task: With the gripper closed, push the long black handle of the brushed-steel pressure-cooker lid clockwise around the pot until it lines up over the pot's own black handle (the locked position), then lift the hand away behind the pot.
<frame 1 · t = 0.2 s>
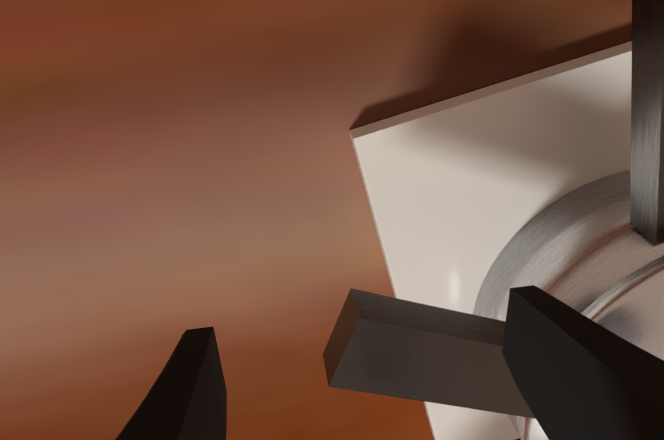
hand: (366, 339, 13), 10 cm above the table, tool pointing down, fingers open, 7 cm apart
pot: (611, 301, 25), resting on board
lid: (636, 394, 19), point 8 cm above the table, hinge at 55.0°
board: (598, 257, 25), on the table
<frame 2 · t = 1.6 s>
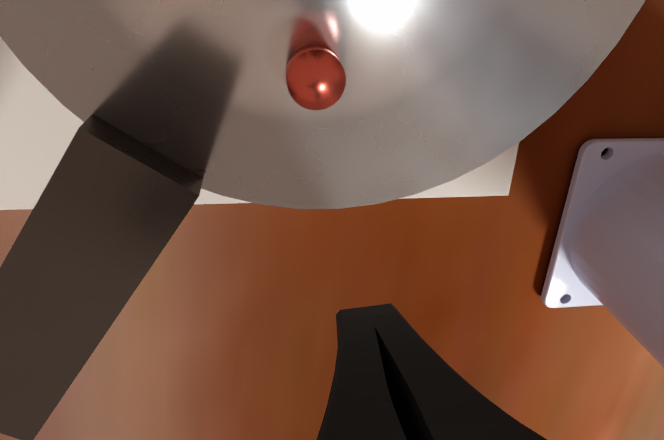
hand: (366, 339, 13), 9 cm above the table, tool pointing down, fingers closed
lid: (217, 40, 10), point 8 cm above the table, hinge at 55.0°
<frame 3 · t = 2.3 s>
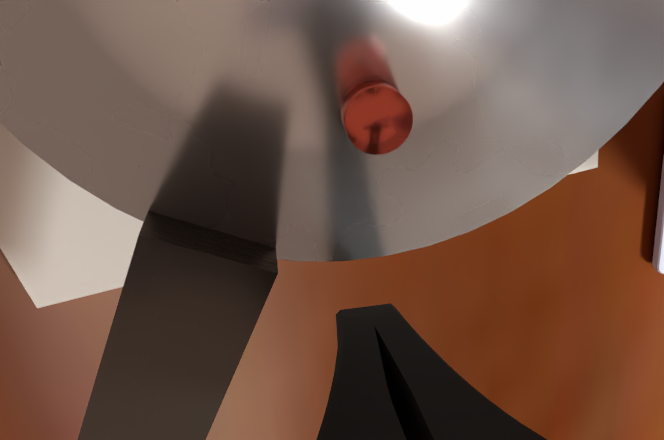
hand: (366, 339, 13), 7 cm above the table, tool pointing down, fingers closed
lid: (261, 105, 9), point 8 cm above the table, hinge at 55.0°
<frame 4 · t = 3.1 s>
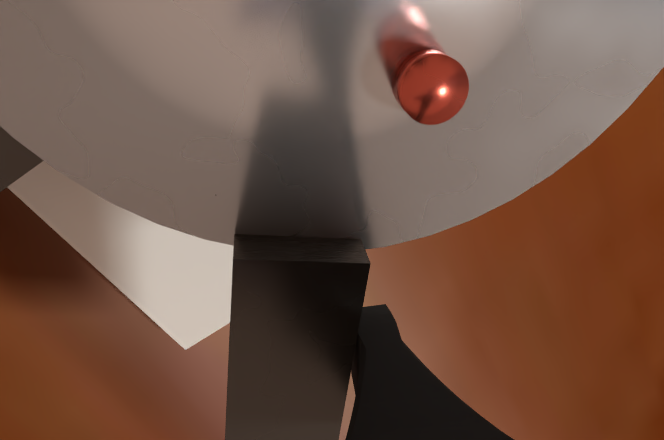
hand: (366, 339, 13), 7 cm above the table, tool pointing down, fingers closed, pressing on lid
lid: (316, 106, 9), point 8 cm above the table, hinge at 50.6°, touching gripper
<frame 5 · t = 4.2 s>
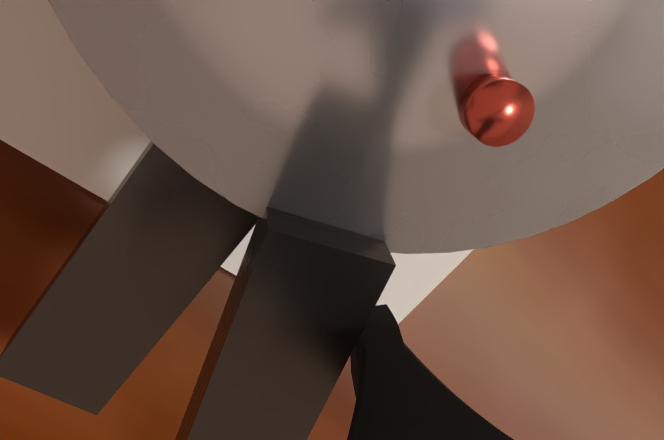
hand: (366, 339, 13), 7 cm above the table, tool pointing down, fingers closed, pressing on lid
lid: (389, 100, 9), point 8 cm above the table, hinge at 18.0°, touching gripper
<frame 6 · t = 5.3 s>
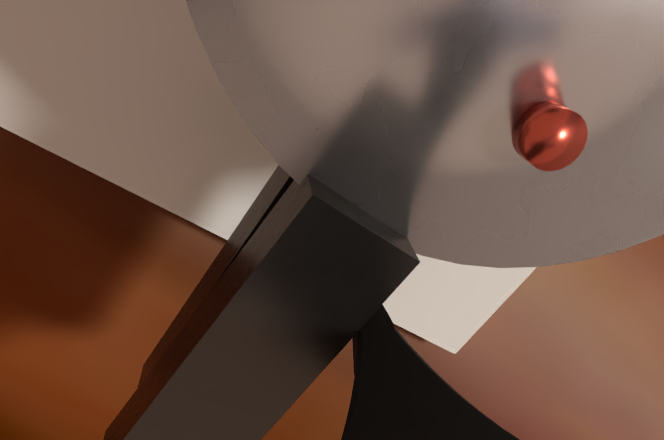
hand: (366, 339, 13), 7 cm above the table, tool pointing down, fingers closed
lid: (460, 99, 9), point 8 cm above the table, hinge at -2.1°, touching gripper
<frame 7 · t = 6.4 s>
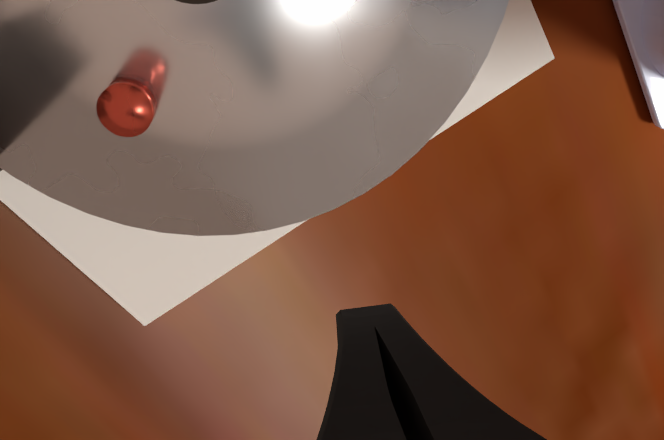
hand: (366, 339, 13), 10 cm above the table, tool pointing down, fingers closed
lid: (42, 44, 11), point 8 cm above the table, hinge at -2.2°
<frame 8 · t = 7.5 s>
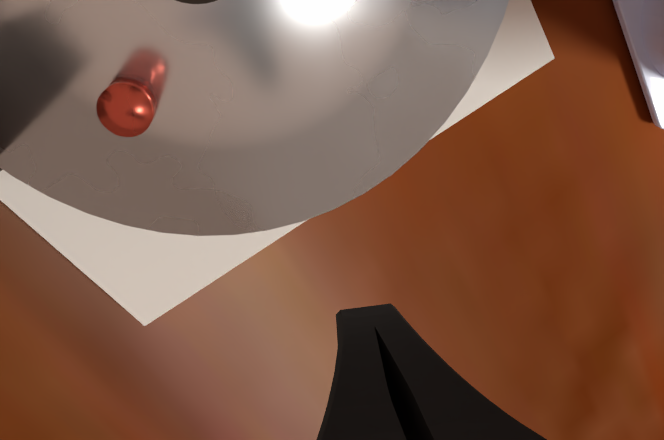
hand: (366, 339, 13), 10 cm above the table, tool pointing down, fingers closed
lid: (42, 44, 11), point 8 cm above the table, hinge at -2.2°
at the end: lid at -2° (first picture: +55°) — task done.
